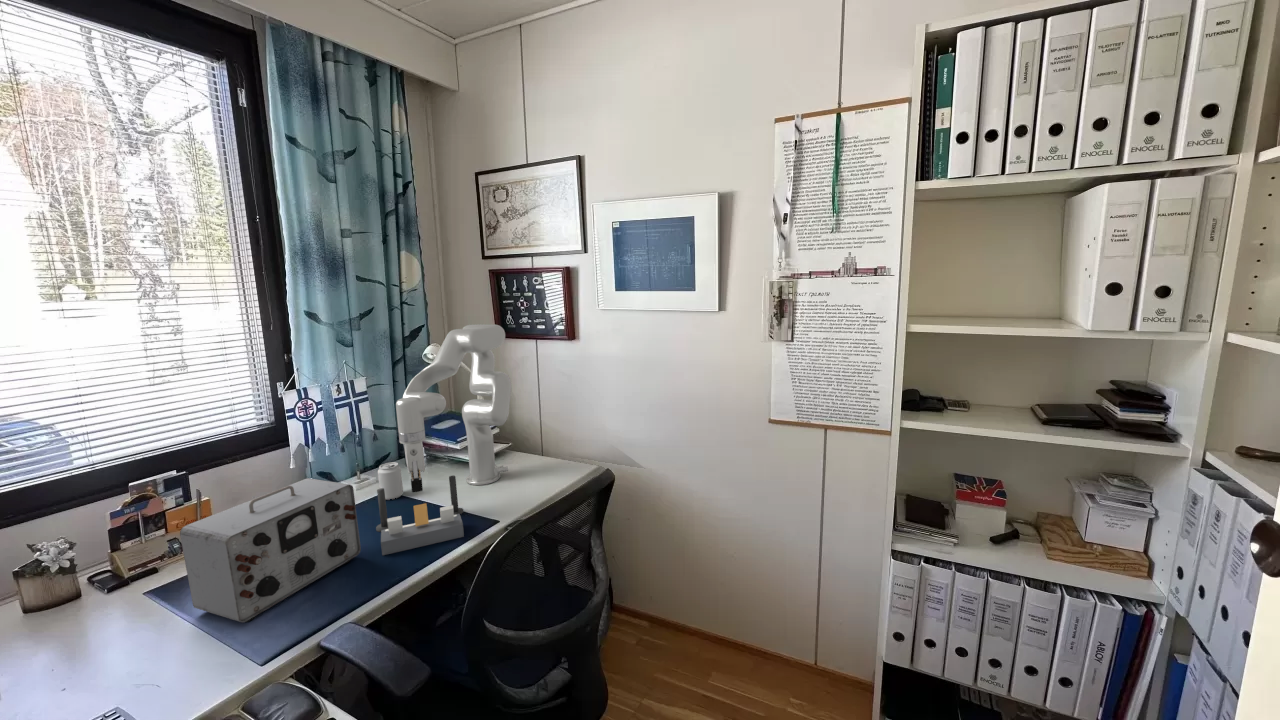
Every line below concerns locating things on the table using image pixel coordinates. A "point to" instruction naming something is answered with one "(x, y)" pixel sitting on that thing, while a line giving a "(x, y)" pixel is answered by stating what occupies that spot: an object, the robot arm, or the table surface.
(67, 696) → the table surface
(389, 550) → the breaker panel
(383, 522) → the post
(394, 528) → the lever left
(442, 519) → the lever right
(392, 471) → the can
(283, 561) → the vintage electronic device
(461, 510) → the post
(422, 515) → the lever
